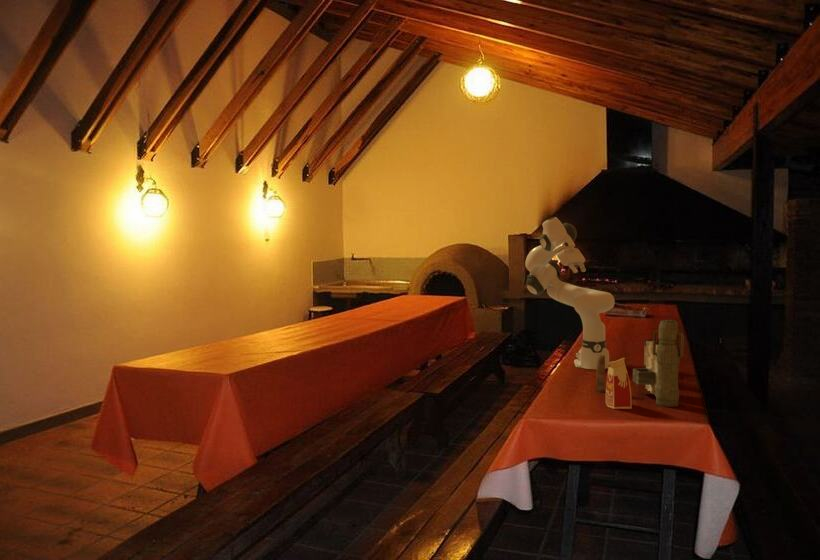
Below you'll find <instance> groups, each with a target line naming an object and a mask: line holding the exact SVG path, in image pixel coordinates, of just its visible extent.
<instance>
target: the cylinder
mask: <svg viewBox="0 0 820 560" xmlns="http://www.w3.org/2000/svg"><path fill="white" fill-rule="evenodd" d="M595 370H596V373H595V375H596V376H595V377H596V379H595V380H596V384H595V385H596V387H595V389H596V390H595V391H596V392H598V393H604V392H605V393H606V380H605V379H606V377H605V376H606V369H605V356H604V355H597V360H596V369H595Z"/></svg>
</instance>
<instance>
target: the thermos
mask: <svg viewBox="0 0 820 560" xmlns="http://www.w3.org/2000/svg"><path fill="white" fill-rule="evenodd" d="M657 334H658V339H657ZM652 337H653V355H656V357H657V359H656V361H657V363H658V372H657V388H656V396H655V399H656V400H655V404H656V405H657V406H660V407H667V408H675V407H679V400H680V390H679V364H680V362H681V361H680V360H681V359H682V358H683V357H684V350H685V349H684V346H685V335H684V334H683V332H680V331H679V324H678V321H677V320H675V319H669V318H668V319H666V318H665V319H662V320H660V323H659V324H658V330H655V331H654V332H653V333H652ZM679 337H680V346H679ZM656 340H659V342H658V347H657V352H656ZM655 352H656V353H655Z"/></svg>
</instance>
